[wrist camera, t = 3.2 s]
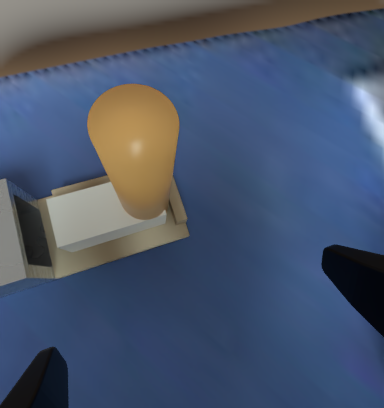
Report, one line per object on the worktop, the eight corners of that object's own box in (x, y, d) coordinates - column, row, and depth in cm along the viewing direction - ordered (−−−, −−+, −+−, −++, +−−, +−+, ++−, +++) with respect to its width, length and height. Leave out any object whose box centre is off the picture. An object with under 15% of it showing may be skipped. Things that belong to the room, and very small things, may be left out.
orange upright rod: (160, 183, 23) (164, 75, 11) (172, 221, 22) (191, 151, 10) (62, 211, 21) (-60, 123, 9) (72, 252, 21) (-45, 214, 9)
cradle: (165, 168, 24) (166, 156, 22) (188, 236, 23) (192, 231, 21) (41, 202, 22) (28, 193, 20) (59, 278, 21) (47, 278, 19)
